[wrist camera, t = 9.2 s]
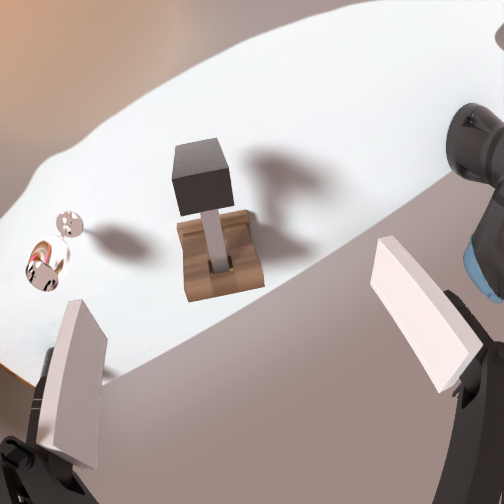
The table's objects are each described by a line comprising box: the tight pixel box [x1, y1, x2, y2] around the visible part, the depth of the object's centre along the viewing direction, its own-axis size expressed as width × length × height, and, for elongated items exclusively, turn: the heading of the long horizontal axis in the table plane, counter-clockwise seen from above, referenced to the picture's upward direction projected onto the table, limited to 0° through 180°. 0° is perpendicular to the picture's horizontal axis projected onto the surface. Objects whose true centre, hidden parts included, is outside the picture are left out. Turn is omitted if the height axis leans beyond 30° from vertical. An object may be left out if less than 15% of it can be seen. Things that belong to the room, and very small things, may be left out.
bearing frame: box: [177, 210, 265, 302], centre depth 40 cm, size 10×10×13 cm
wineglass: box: [25, 211, 82, 292], centre depth 33 cm, size 6×6×12 cm
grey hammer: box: [172, 138, 234, 274], centre depth 28 cm, size 16×4×9 cm, turn 7°
